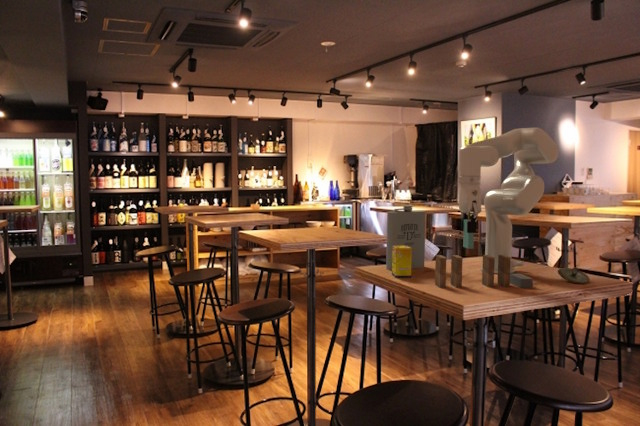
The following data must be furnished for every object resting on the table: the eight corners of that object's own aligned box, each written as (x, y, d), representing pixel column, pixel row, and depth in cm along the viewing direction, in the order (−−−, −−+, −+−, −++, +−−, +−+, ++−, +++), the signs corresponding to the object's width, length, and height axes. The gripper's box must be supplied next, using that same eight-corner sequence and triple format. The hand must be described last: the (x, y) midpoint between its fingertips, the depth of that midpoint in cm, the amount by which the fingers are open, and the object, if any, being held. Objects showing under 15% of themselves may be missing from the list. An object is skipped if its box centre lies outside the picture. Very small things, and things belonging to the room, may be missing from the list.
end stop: (519, 282, 184) (520, 273, 184) (532, 287, 175) (532, 278, 175) (508, 282, 184) (509, 273, 183) (521, 287, 175) (521, 278, 174)
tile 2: (456, 284, 180) (457, 255, 179) (461, 287, 175) (462, 257, 174) (450, 284, 180) (451, 255, 179) (455, 287, 175) (456, 257, 174)
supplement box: (391, 274, 195) (392, 245, 194) (407, 274, 196) (408, 245, 195) (395, 278, 189) (395, 247, 189) (411, 277, 190) (412, 247, 189)
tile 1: (440, 284, 179) (441, 255, 178) (445, 287, 174) (446, 257, 173) (434, 284, 179) (435, 255, 178) (439, 287, 174) (440, 257, 173)
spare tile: (468, 246, 193) (468, 219, 192) (473, 248, 188) (474, 220, 187) (463, 246, 193) (463, 219, 192) (468, 248, 188) (468, 220, 187)
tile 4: (487, 283, 181) (488, 254, 180) (493, 287, 176) (494, 257, 175) (481, 283, 181) (482, 254, 180) (487, 287, 176) (488, 257, 175)
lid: (574, 277, 192) (575, 264, 192) (596, 283, 183) (597, 269, 183) (551, 279, 189) (551, 265, 189) (572, 285, 180) (572, 270, 179)
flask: (391, 270, 203) (392, 206, 201) (384, 268, 207) (385, 205, 205) (427, 267, 211) (428, 205, 209) (420, 265, 215) (421, 204, 213)
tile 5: (503, 283, 181) (504, 254, 180) (509, 286, 176) (510, 257, 175) (497, 283, 181) (498, 254, 180) (503, 286, 176) (504, 257, 175)
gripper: (489, 181, 180) (488, 234, 182) (470, 180, 197) (469, 228, 199) (468, 182, 179) (467, 235, 181) (451, 180, 196) (450, 229, 198)
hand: (468, 231), depth 190 cm, fingers closed on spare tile, 4 cm apart
